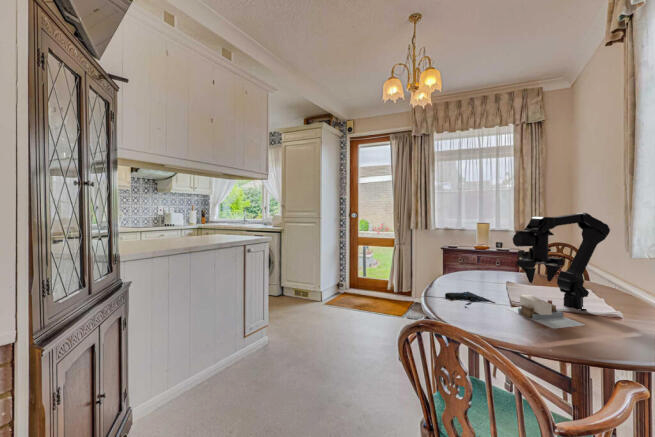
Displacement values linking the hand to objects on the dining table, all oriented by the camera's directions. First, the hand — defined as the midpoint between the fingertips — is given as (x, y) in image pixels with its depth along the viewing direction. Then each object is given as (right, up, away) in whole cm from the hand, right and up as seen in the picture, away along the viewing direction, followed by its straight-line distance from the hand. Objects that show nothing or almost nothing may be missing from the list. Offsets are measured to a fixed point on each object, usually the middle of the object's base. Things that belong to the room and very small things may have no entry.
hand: (539, 282), depth 128 cm
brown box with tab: (-7, -11, -9) cm, 16 cm away
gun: (-24, -13, +12) cm, 29 cm away
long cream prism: (-9, -9, -9) cm, 16 cm away
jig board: (-6, -13, -10) cm, 17 cm away
